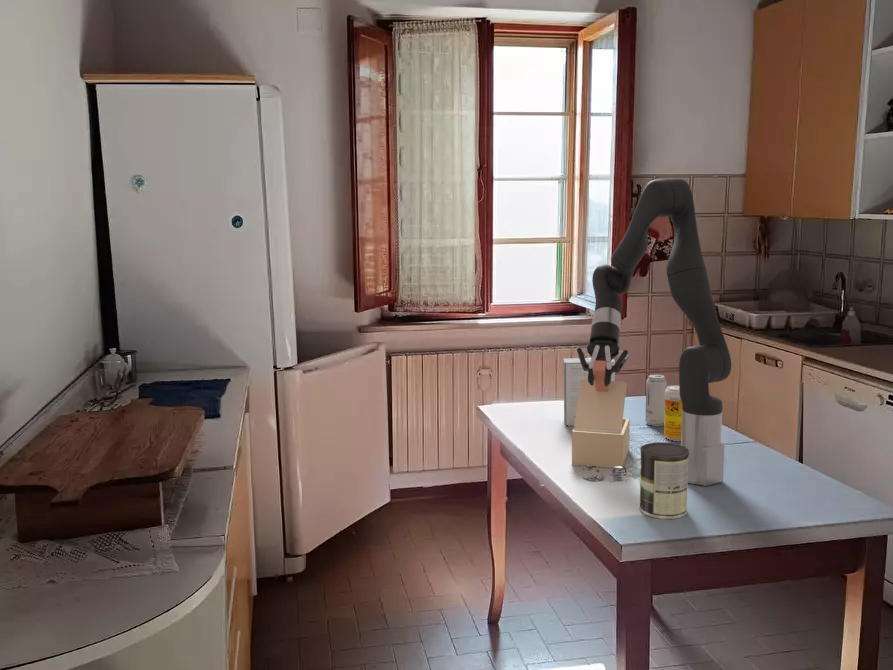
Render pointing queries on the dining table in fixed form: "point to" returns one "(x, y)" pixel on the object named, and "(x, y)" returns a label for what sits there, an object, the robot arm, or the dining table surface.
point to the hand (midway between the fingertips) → (598, 383)
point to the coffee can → (664, 480)
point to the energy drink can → (655, 400)
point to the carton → (601, 447)
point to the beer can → (673, 413)
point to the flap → (600, 403)
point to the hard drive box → (575, 386)
